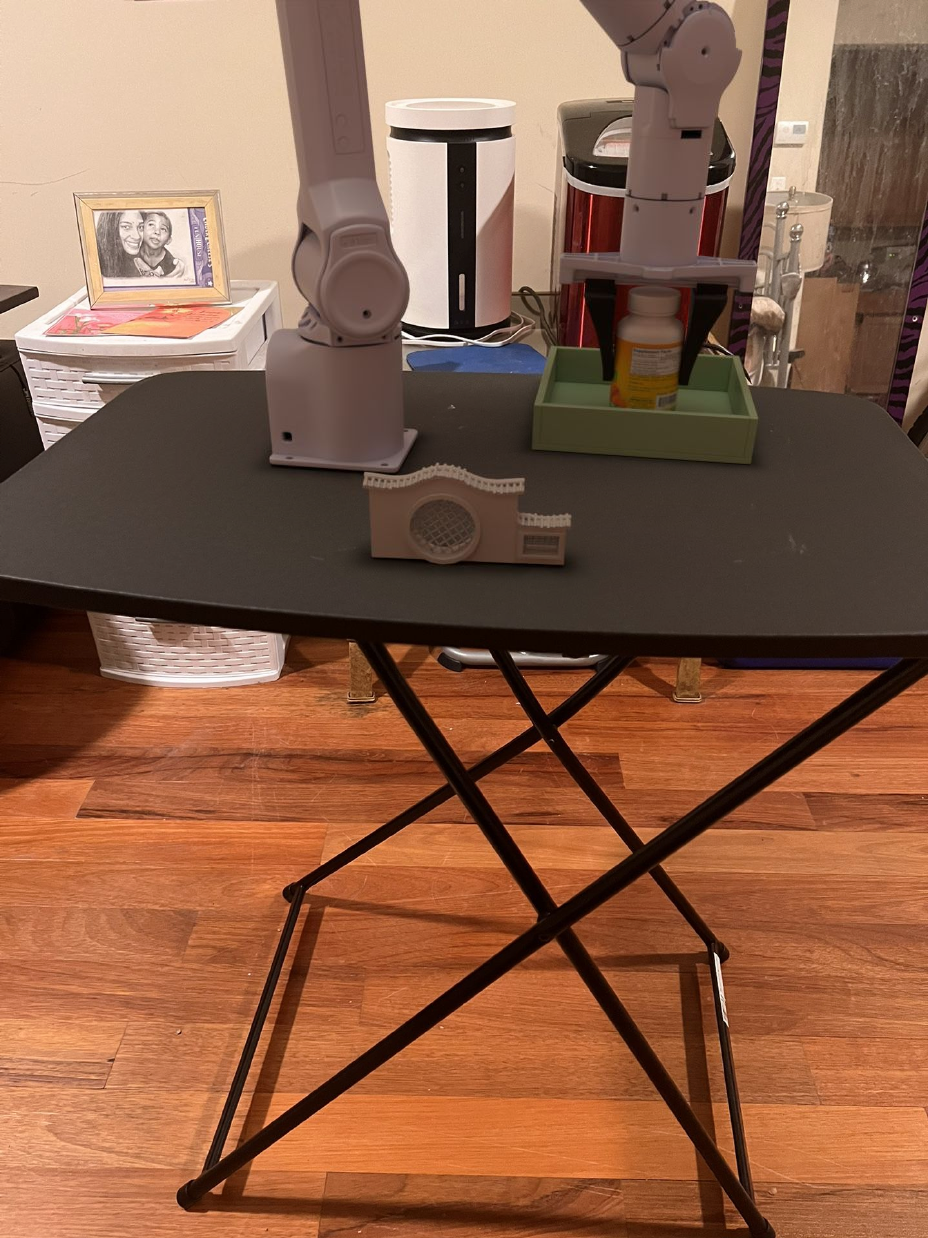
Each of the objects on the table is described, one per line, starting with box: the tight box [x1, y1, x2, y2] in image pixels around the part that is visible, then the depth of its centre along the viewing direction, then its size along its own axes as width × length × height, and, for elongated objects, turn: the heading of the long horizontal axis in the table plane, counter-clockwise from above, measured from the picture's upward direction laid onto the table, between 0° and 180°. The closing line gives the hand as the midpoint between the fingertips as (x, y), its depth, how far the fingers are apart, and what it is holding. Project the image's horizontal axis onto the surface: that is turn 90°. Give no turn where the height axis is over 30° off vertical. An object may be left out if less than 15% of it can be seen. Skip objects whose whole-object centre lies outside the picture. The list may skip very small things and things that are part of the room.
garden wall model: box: [362, 462, 572, 566], centre depth 57 cm, size 12×2×6 cm, turn 86°
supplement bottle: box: [609, 285, 686, 411], centre depth 77 cm, size 5×5×10 cm
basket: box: [531, 345, 760, 465], centre depth 79 cm, size 16×16×4 cm
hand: (644, 379), depth 78 cm, fingers closed on supplement bottle, 5 cm apart
